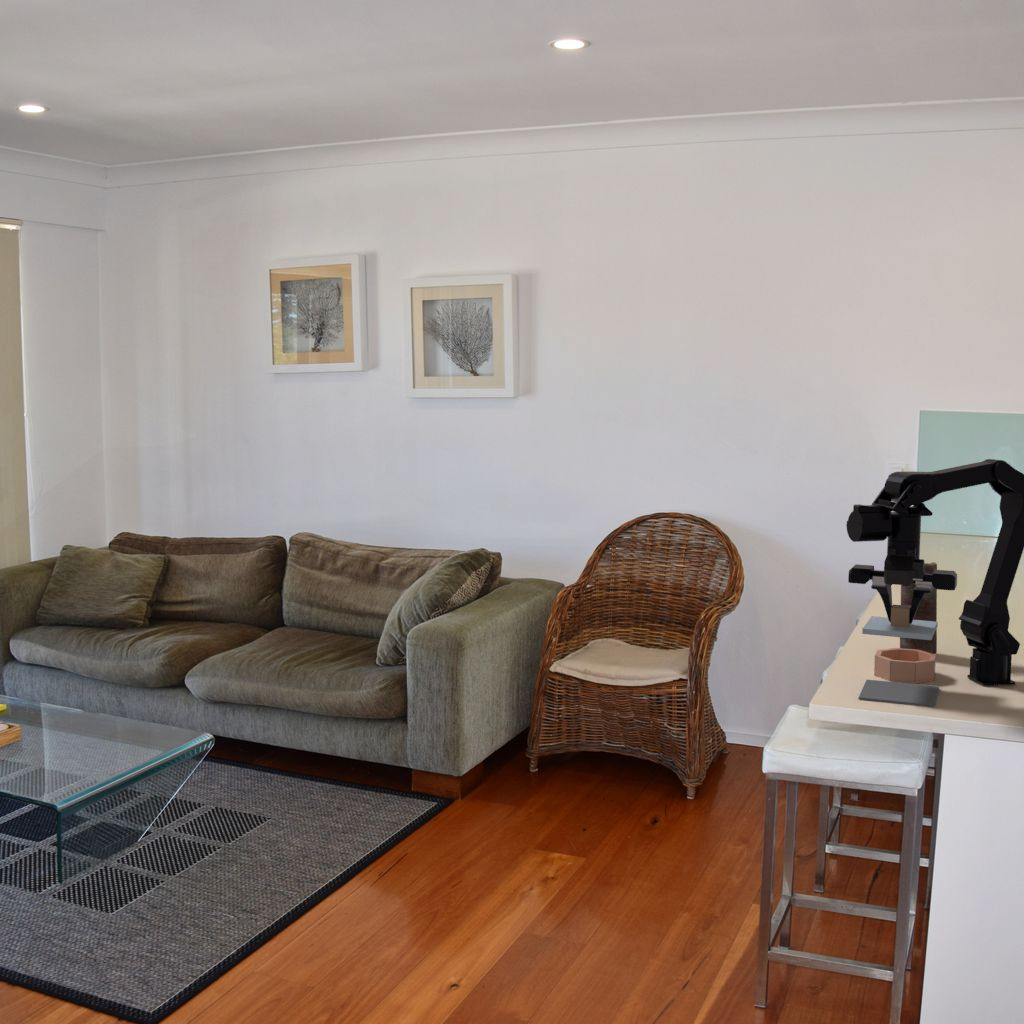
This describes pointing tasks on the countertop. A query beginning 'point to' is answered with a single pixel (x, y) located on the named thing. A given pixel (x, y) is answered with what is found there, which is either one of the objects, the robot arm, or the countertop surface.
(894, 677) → the dish
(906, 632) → the lid
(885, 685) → the mat
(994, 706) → the countertop surface
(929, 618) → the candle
